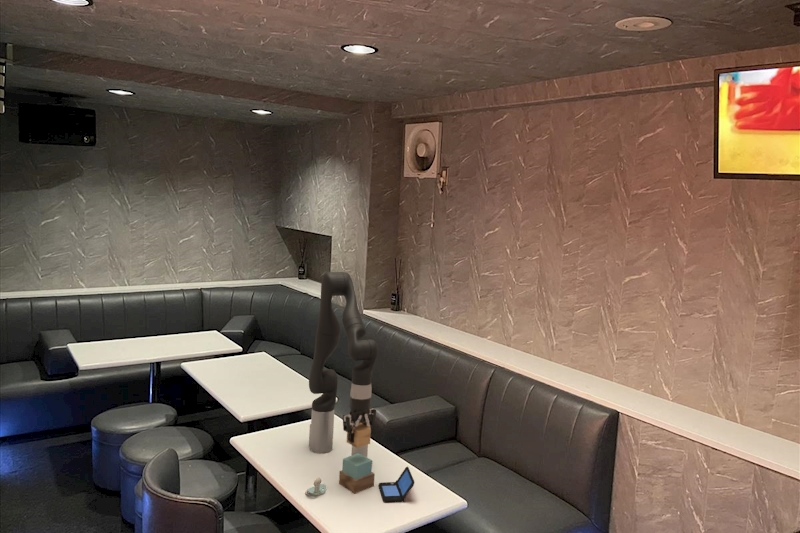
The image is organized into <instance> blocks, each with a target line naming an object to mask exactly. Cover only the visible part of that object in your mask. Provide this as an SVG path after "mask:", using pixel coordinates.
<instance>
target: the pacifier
mask: <svg viewBox="0 0 800 533" xmlns="http://www.w3.org/2000/svg"><path fill="white" fill-rule="evenodd" d="M321 482H322V478H321V477H319V476H318V477H317V478H315V479H314V481H313V486H312V487H309V488H307V489H306V490H305V495H307V496H312V497H316V496H320V495H321V494H323V493H325V492H326V490H327V485H326V484H325V483H321Z"/></svg>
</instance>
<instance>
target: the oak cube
mask: <svg viewBox="0 0 800 533" xmlns="http://www.w3.org/2000/svg"><path fill="white" fill-rule="evenodd" d="M352 427H353V426H352ZM351 429H352V428H351ZM371 433H372V428H371V426H370V427H368V426H366V425H364V424H362V423H359V424H358V426H357V427H356V428H355V431H354V443H351V442H349V441H348V432H346V443H347V444H349V445H350V446H352V445H353V446H354V447H356V448H359V447H362V446H365V445H368V446H369V445H371V435H372V434H371Z"/></svg>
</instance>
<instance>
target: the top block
mask: <svg viewBox="0 0 800 533" xmlns="http://www.w3.org/2000/svg"><path fill="white" fill-rule="evenodd" d="M341 471H342V472H343V473H345V474H347V475H349V476H350V477H352V478H354V479H355V480H357V479H359V478H362V477H364V476H366V475H369V474H371V473H372V472H373V460H372V459H370V458H369V457H368V456H367V457H365V456H363V455H361V454H360V453H357V454H354V455H352V456H351V455H349V456H347V457H344V458H342V470H341Z"/></svg>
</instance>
